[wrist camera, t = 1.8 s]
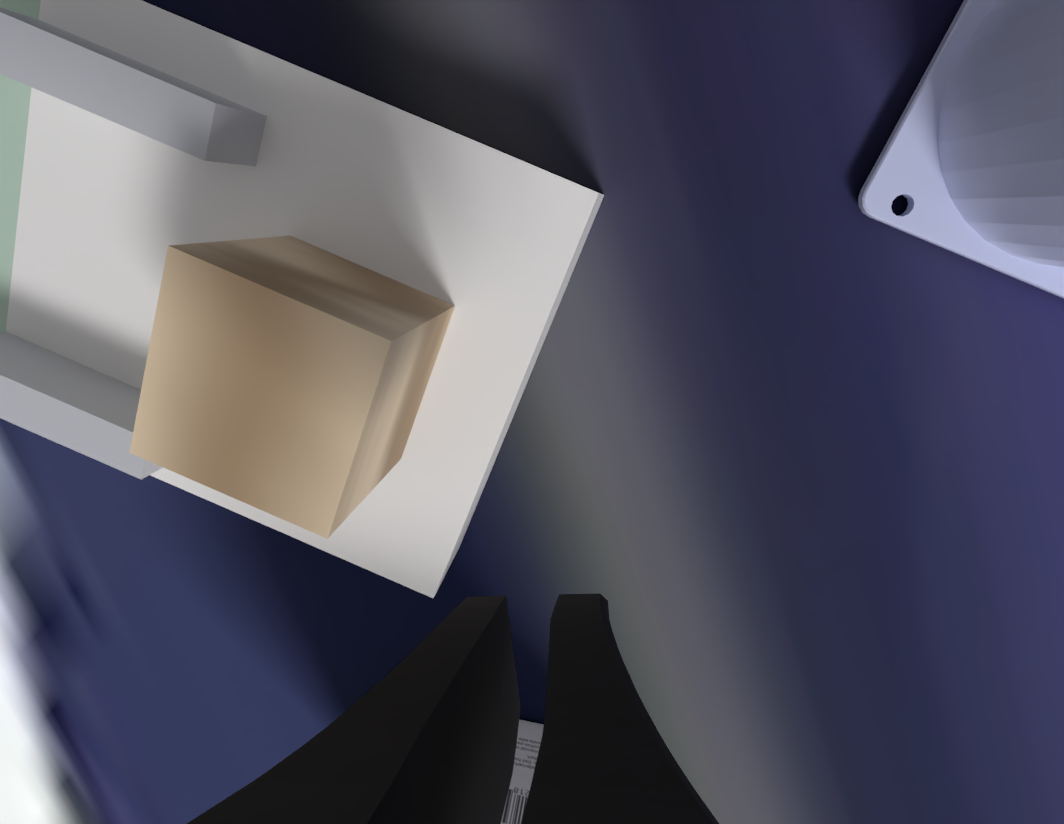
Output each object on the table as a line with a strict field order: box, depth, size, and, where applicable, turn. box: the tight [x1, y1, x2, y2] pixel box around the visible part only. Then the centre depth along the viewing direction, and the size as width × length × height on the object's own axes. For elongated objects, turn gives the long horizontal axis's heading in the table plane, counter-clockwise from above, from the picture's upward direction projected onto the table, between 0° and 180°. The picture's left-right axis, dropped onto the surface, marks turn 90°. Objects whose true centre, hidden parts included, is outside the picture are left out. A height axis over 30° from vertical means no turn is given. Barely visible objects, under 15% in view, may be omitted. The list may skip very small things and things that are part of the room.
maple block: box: [129, 236, 455, 539], centre depth 15 cm, size 4×4×4 cm
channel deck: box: [0, 0, 604, 598], centre depth 18 cm, size 28×12×5 cm, turn 68°
